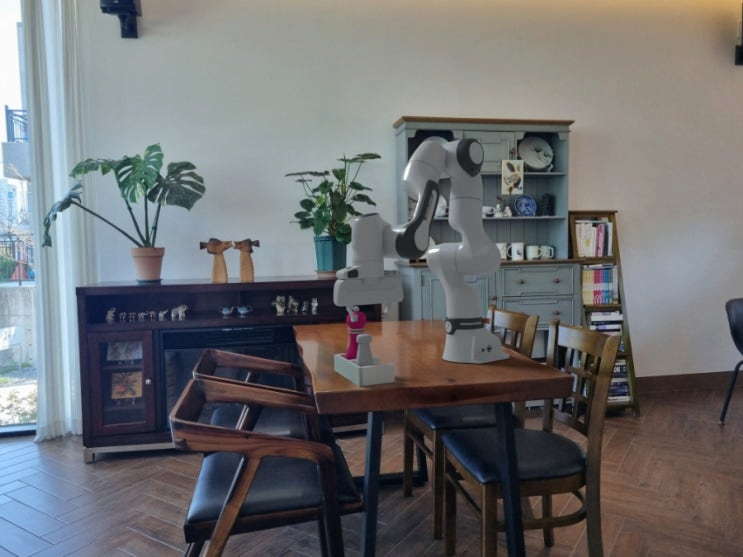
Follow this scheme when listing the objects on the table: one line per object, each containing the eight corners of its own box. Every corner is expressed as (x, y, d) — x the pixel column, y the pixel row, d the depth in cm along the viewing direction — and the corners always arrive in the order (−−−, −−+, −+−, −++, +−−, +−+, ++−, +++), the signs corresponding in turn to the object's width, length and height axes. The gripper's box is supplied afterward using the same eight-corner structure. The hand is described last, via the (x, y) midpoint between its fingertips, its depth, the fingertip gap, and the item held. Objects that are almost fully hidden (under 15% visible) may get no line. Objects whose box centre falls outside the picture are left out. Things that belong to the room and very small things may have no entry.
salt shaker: (375, 377, 144) (374, 332, 143) (375, 382, 138) (374, 335, 137) (355, 377, 144) (354, 333, 143) (354, 382, 138) (353, 336, 137)
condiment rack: (366, 367, 157) (365, 351, 157) (394, 382, 138) (394, 364, 138) (334, 370, 153) (334, 354, 153) (359, 386, 134) (358, 368, 134)
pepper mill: (341, 373, 149) (339, 307, 148) (353, 368, 155) (351, 304, 154) (362, 376, 146) (360, 307, 145) (373, 371, 152) (372, 305, 151)
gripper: (396, 269, 147) (398, 315, 148) (330, 272, 139) (332, 321, 140) (406, 269, 141) (407, 318, 142) (338, 273, 133) (339, 324, 134)
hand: (369, 320), depth 141 cm, fingers open, 8 cm apart
